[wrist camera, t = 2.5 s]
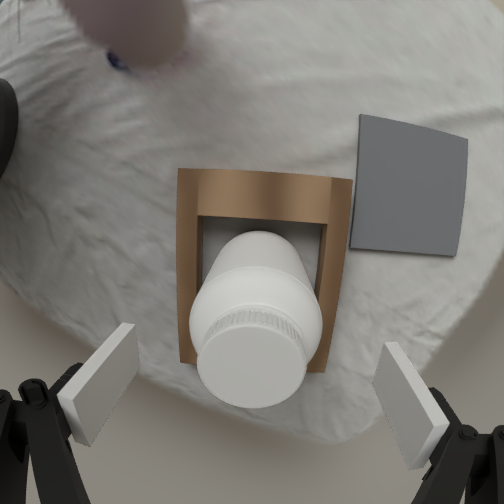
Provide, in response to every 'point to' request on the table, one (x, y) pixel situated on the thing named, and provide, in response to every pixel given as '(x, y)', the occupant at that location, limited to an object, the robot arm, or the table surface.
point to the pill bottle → (255, 322)
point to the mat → (408, 188)
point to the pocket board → (261, 207)
